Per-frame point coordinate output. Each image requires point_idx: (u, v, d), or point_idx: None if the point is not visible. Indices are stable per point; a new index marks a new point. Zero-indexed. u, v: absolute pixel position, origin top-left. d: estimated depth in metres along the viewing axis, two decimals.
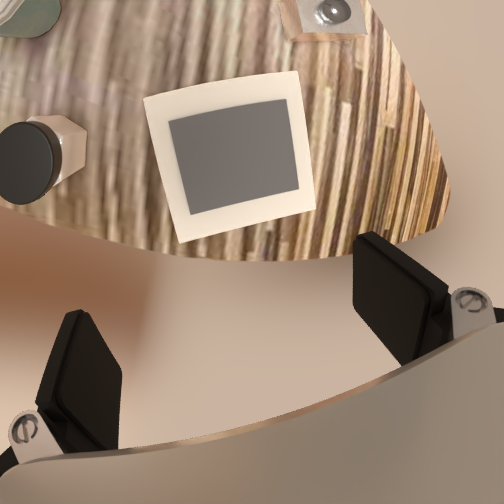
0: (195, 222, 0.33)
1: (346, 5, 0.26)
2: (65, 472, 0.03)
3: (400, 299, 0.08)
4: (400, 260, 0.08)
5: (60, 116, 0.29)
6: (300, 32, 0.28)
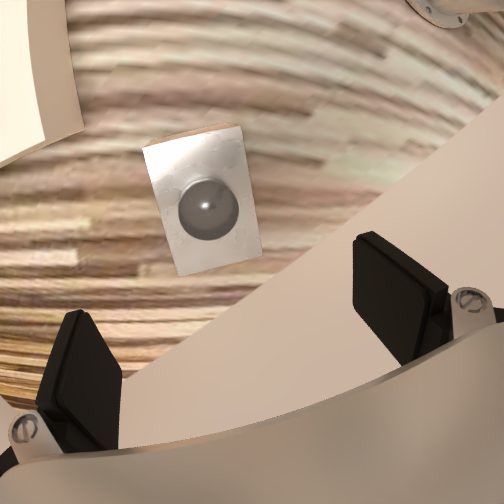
0: None
1: (223, 230, 0.19)
2: (65, 472, 0.03)
3: (400, 299, 0.08)
4: (400, 260, 0.08)
5: None
6: (147, 146, 0.17)
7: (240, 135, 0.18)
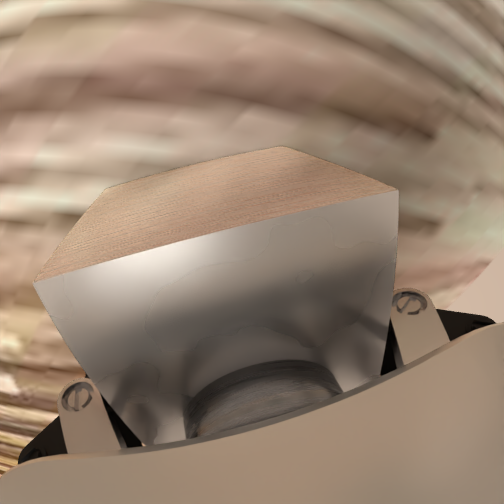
0: None
1: None
2: (65, 472, 0.03)
3: None
4: None
5: None
6: (56, 259, 0.04)
7: (392, 224, 0.05)
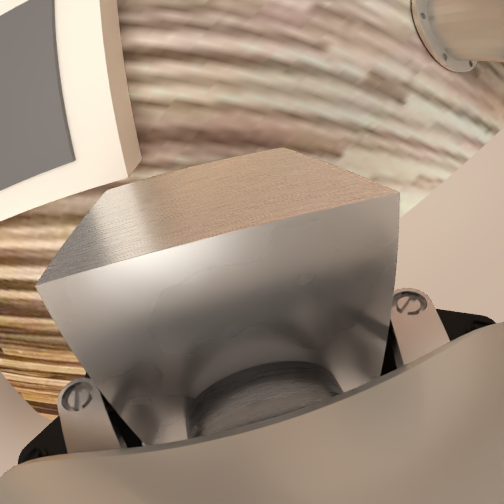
0: None
1: None
2: (65, 472, 0.03)
3: None
4: None
5: None
6: (59, 261, 0.05)
7: (393, 226, 0.05)
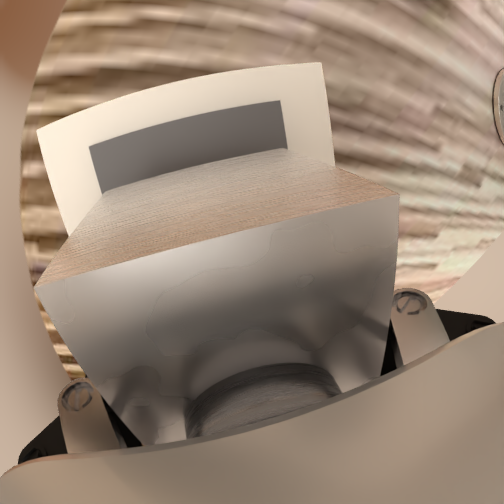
0: (75, 156, 0.14)
1: None
2: (65, 472, 0.03)
3: None
4: None
5: None
6: (57, 263, 0.04)
7: (393, 228, 0.05)
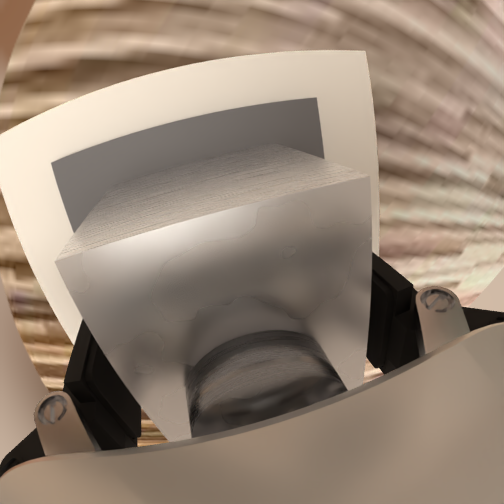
0: (36, 175, 0.09)
1: None
2: (65, 472, 0.03)
3: None
4: None
5: None
6: (74, 242, 0.05)
7: (366, 206, 0.06)
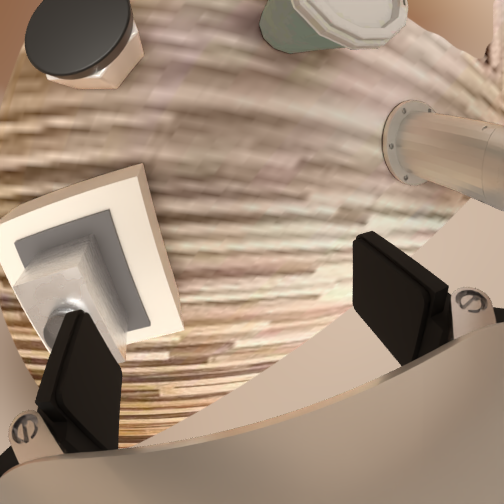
0: (9, 246, 0.22)
1: None
2: (65, 472, 0.03)
3: (400, 299, 0.08)
4: (400, 260, 0.08)
5: (140, 55, 0.24)
6: (17, 281, 0.18)
7: (79, 274, 0.18)
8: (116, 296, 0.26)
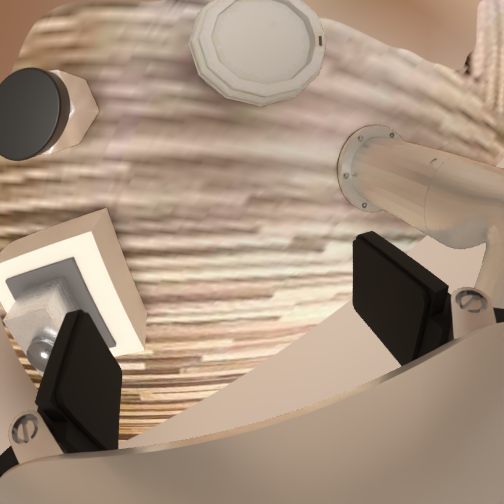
0: (2, 282, 0.26)
1: None
2: (65, 472, 0.03)
3: (400, 299, 0.08)
4: (399, 260, 0.08)
5: (94, 114, 0.28)
6: (7, 315, 0.22)
7: (47, 314, 0.23)
8: None
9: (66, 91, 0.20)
